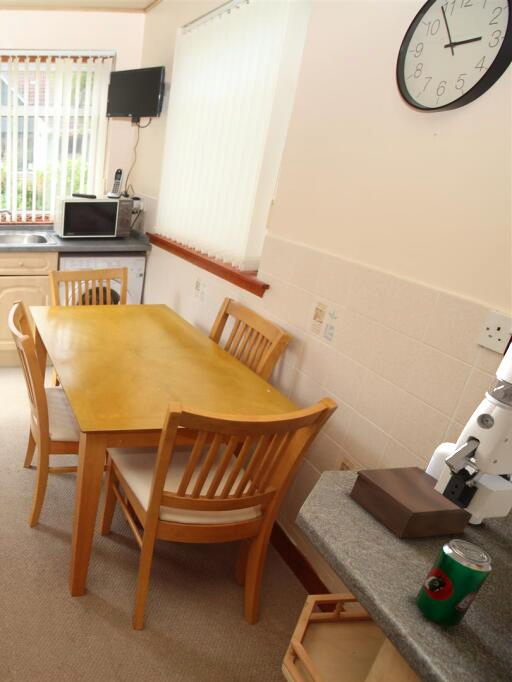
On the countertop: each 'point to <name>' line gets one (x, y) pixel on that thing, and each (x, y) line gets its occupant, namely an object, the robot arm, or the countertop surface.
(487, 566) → the soda can
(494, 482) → the white box
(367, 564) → the countertop surface
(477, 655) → the countertop surface
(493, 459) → the robot arm
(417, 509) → the storage box
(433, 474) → the photo printer
